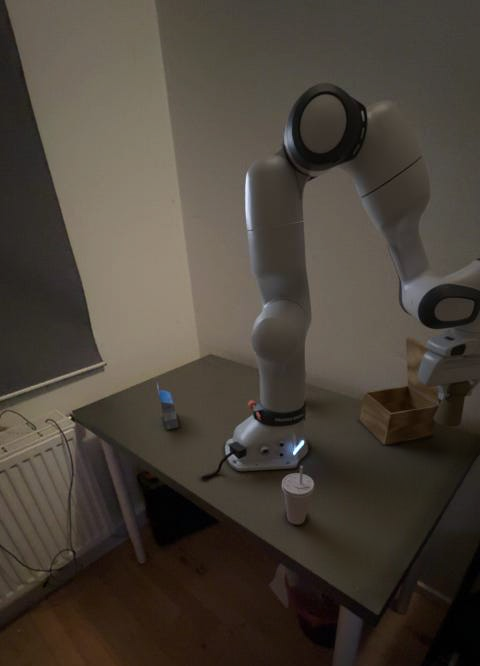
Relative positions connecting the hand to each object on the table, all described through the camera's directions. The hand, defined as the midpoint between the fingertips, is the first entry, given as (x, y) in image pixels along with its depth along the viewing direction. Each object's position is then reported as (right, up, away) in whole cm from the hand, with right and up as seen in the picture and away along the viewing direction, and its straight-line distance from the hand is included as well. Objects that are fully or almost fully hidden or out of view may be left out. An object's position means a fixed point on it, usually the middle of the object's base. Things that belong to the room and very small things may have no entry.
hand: (453, 396), depth 83 cm
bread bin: (-7, -8, +17) cm, 20 cm away
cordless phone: (-73, -6, +27) cm, 78 cm away
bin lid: (-3, +8, +9) cm, 12 cm away
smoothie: (-39, -27, -10) cm, 48 cm away
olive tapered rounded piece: (0, -6, +4) cm, 7 cm away
